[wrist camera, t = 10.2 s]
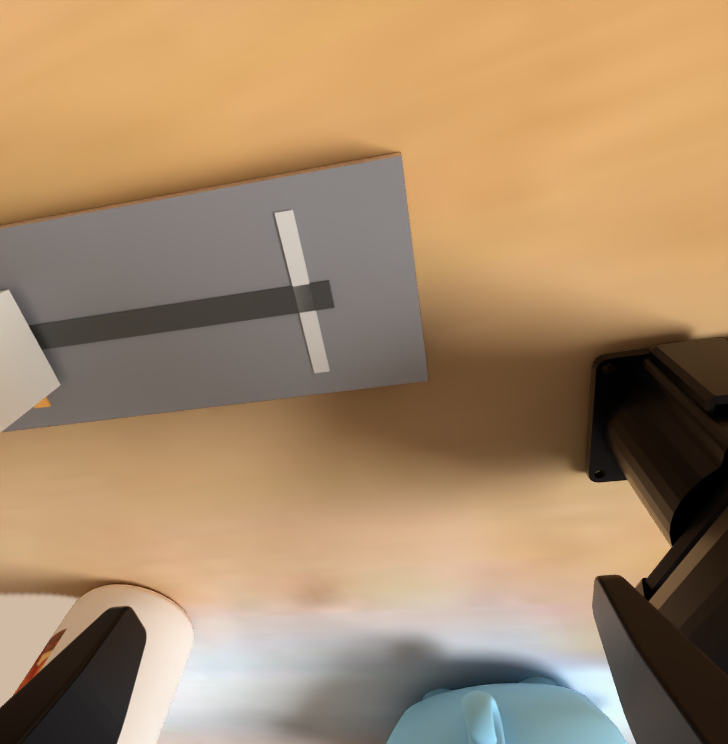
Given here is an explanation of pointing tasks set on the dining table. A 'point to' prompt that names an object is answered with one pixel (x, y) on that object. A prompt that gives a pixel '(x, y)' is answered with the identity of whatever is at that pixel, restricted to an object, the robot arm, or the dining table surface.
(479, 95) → the dining table surface
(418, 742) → the decorative pot
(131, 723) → the milk bottle
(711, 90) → the dining table surface
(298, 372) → the console
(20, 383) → the fader cap
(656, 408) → the robot arm
